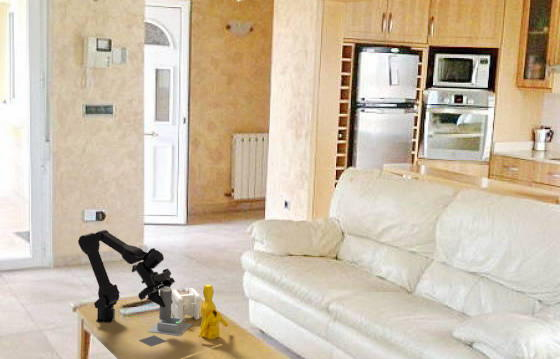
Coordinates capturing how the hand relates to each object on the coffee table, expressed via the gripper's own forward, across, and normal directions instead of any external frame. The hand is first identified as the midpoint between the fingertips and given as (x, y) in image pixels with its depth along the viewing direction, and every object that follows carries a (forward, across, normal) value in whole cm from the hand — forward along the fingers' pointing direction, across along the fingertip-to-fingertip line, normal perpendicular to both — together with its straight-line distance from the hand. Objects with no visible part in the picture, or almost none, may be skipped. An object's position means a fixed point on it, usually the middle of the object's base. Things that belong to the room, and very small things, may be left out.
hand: (168, 305), depth 281 cm
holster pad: (+9, -9, +10) cm, 16 cm away
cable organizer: (+6, +22, +14) cm, 26 cm away
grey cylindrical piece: (+3, 0, +5) cm, 6 cm away
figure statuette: (+20, +9, -1) cm, 22 cm away
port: (+7, +7, +12) cm, 15 cm away
